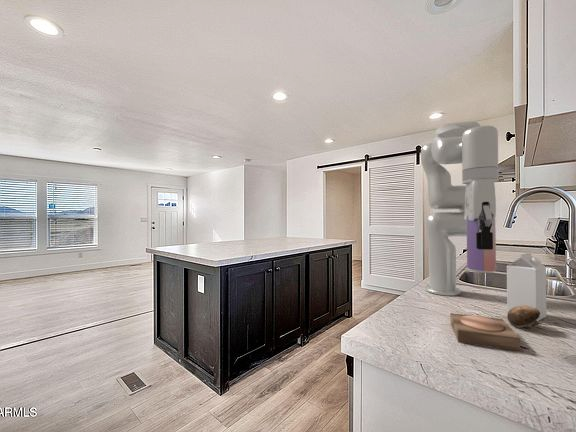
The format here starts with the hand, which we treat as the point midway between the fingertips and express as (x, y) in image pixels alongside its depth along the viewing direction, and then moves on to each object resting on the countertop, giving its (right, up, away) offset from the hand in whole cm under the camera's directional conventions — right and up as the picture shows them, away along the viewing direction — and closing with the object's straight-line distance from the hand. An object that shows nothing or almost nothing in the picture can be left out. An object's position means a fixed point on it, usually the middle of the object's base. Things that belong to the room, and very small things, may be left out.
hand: (480, 247), depth 69 cm
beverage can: (0, -6, 0) cm, 6 cm away
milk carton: (+23, -23, +13) cm, 35 cm away
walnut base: (0, -23, 0) cm, 23 cm away
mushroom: (+16, -23, +6) cm, 28 cm away
